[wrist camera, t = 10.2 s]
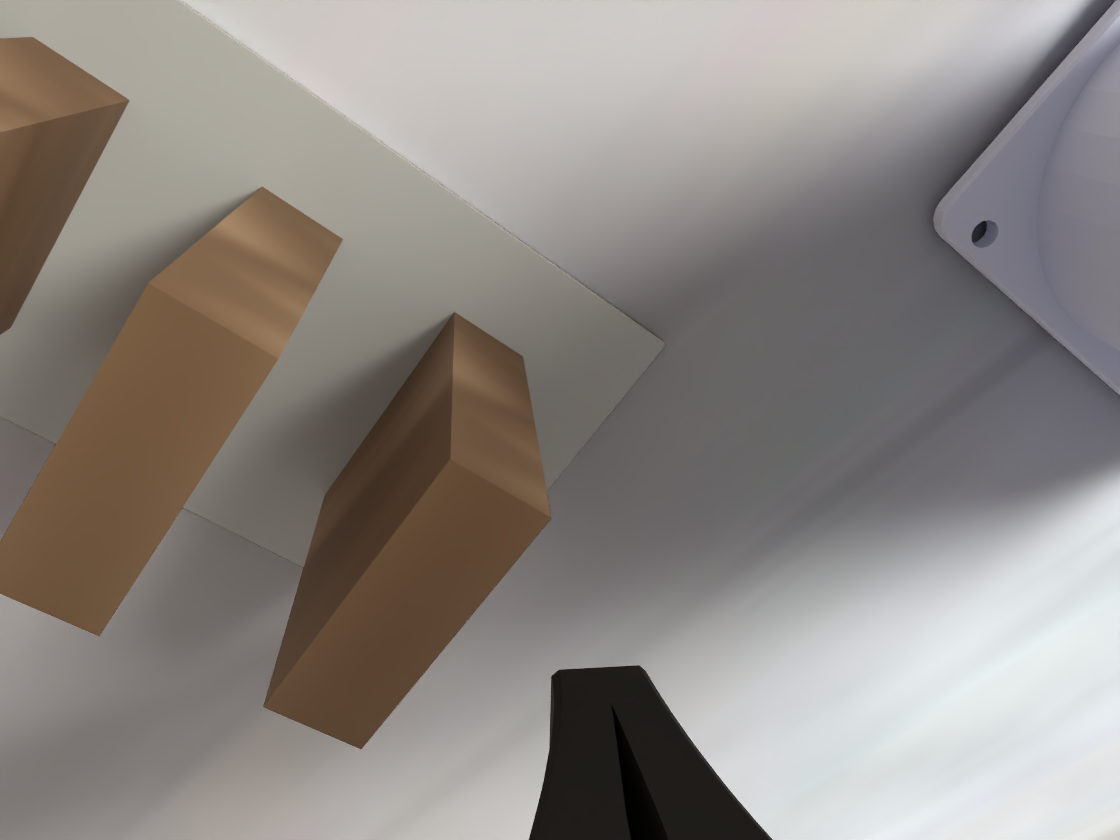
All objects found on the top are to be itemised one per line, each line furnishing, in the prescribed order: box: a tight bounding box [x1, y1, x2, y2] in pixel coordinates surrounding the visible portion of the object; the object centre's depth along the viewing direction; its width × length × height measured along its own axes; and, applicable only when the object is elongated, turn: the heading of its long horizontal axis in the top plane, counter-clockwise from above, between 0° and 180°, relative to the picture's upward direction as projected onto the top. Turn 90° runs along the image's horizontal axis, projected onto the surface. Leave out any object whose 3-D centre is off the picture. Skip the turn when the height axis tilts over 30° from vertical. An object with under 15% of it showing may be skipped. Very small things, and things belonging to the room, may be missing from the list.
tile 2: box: [0, 187, 343, 636], centre depth 13 cm, size 2×5×6 cm, turn 143°
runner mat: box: [0, 0, 665, 568], centre depth 15 cm, size 22×8×1 cm, turn 53°
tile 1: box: [263, 312, 552, 749], centre depth 14 cm, size 2×5×6 cm, turn 143°
